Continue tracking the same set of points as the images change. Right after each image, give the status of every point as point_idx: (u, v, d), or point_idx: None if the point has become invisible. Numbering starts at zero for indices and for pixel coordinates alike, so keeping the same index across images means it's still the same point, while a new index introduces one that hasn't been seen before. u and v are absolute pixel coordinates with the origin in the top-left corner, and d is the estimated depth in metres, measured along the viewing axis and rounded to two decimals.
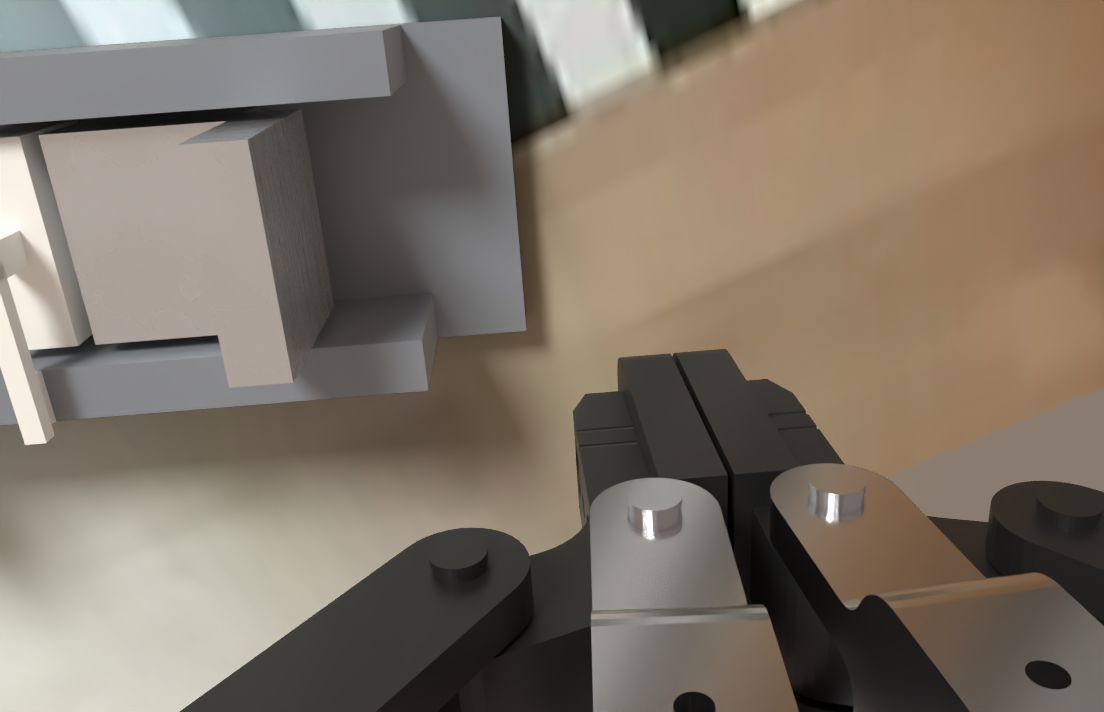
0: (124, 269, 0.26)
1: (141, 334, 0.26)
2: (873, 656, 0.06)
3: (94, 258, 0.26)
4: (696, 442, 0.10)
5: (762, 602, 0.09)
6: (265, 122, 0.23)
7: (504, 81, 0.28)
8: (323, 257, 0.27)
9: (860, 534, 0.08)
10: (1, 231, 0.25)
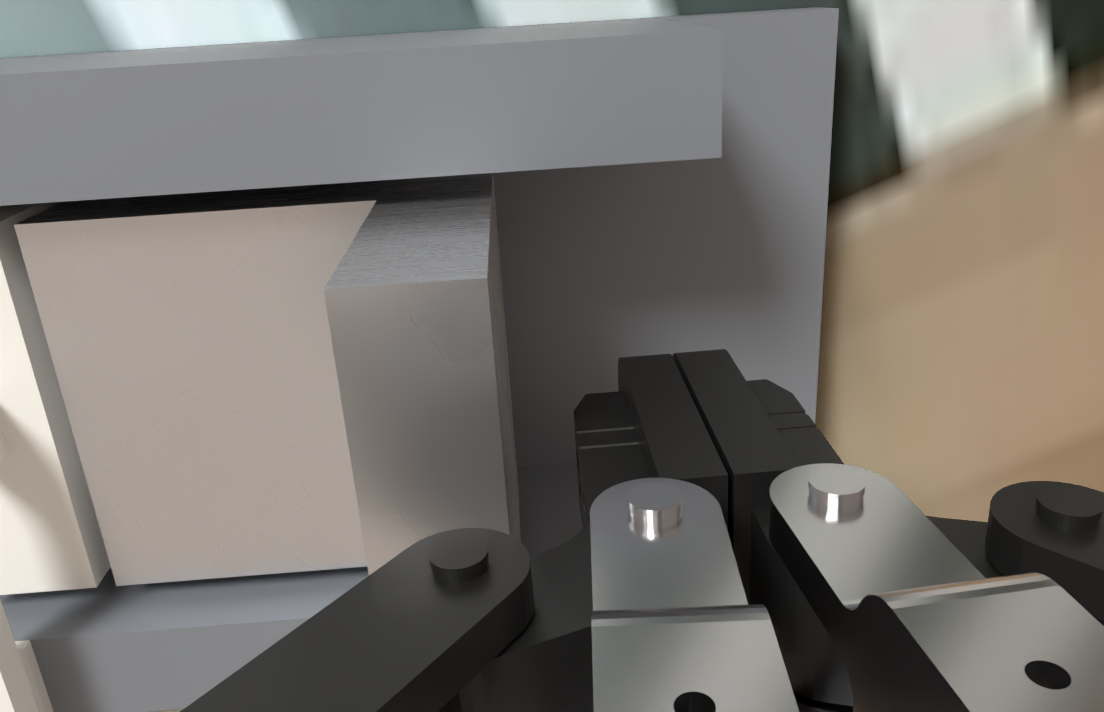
0: (171, 462, 0.14)
1: (198, 569, 0.15)
2: (873, 656, 0.06)
3: (117, 444, 0.14)
4: (696, 442, 0.10)
5: (761, 602, 0.09)
6: (464, 210, 0.12)
7: (829, 118, 0.16)
8: (512, 422, 0.16)
9: (859, 534, 0.08)
10: None
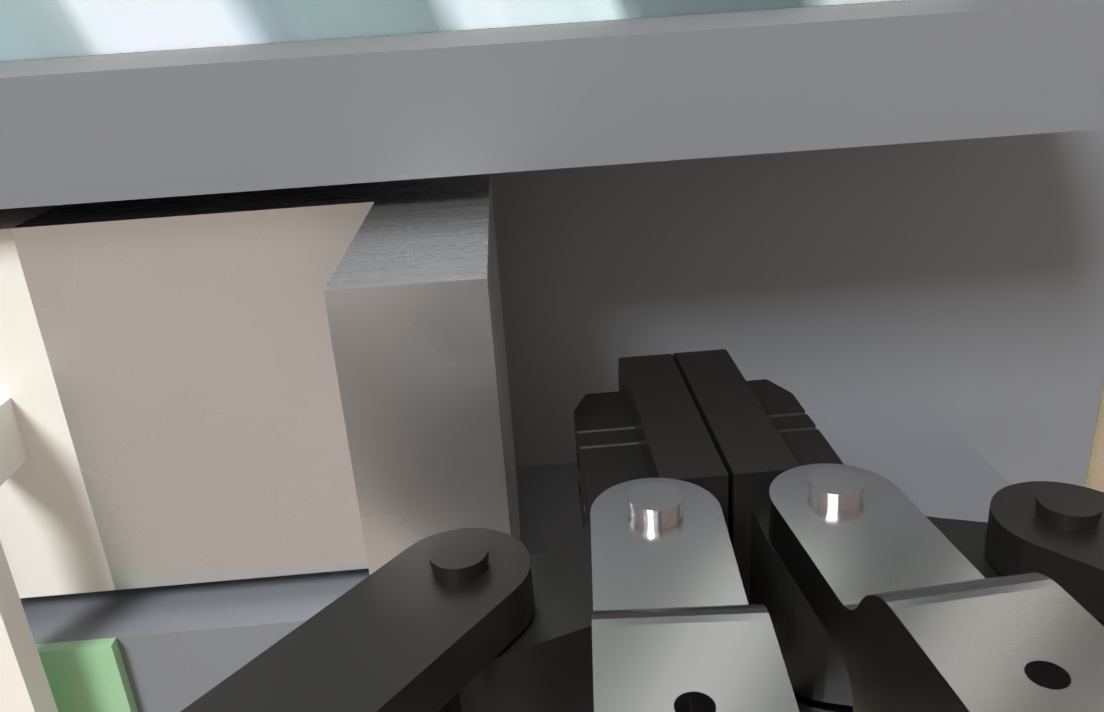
0: (171, 465, 0.14)
1: (198, 572, 0.15)
2: (873, 654, 0.06)
3: (115, 447, 0.14)
4: (697, 442, 0.10)
5: (761, 602, 0.09)
6: (462, 211, 0.12)
7: None
8: (511, 423, 0.16)
9: (859, 534, 0.08)
10: None
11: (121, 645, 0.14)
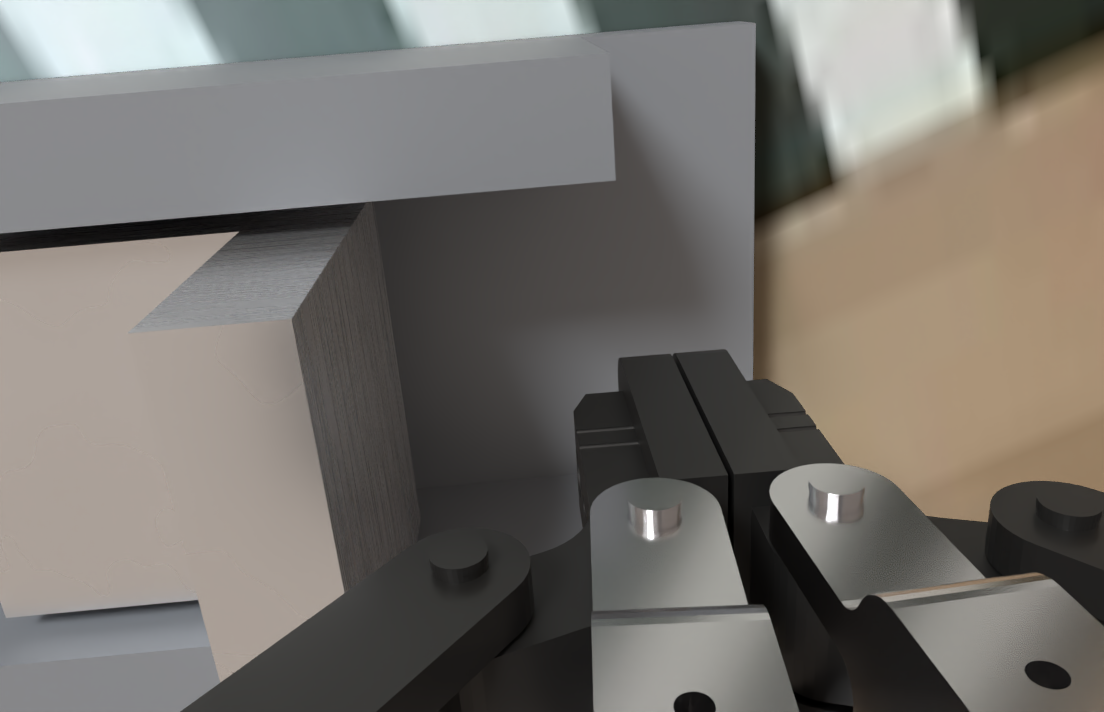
0: (52, 494, 0.14)
1: (87, 599, 0.15)
2: (873, 656, 0.06)
3: None
4: (697, 442, 0.10)
5: (761, 602, 0.09)
6: (316, 241, 0.12)
7: (752, 132, 0.16)
8: (406, 446, 0.16)
9: (859, 534, 0.08)
10: None
11: None
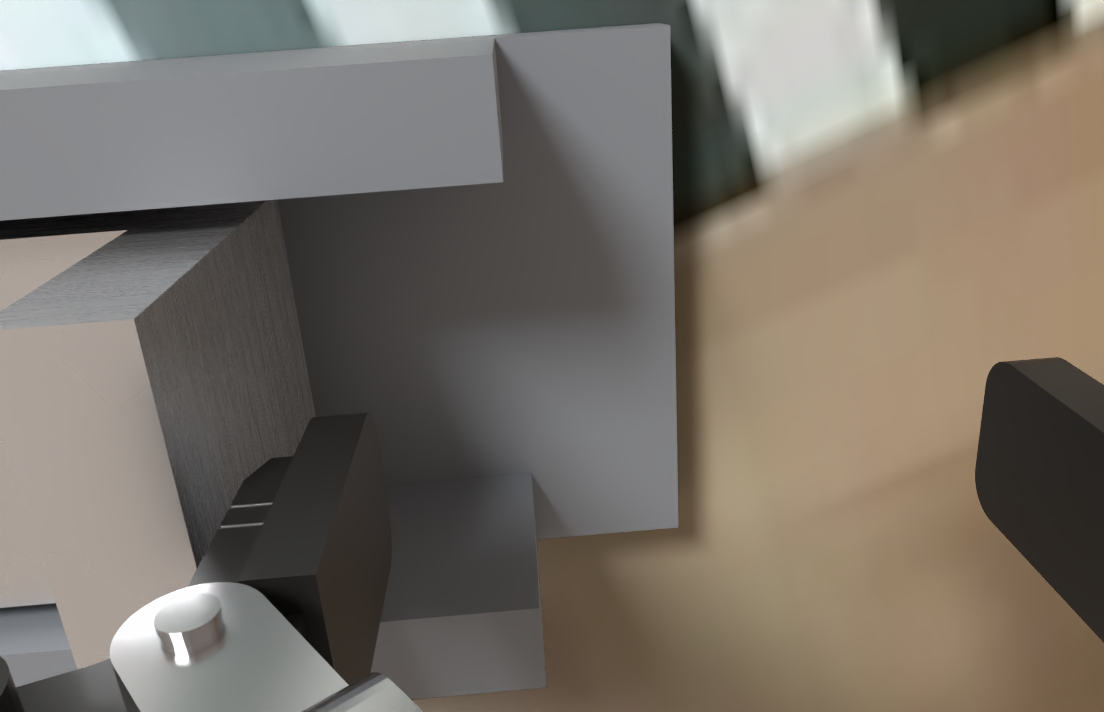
0: None
1: None
2: None
3: None
4: (313, 529, 0.09)
5: None
6: (197, 241, 0.12)
7: (669, 135, 0.16)
8: None
9: None
10: None
11: None
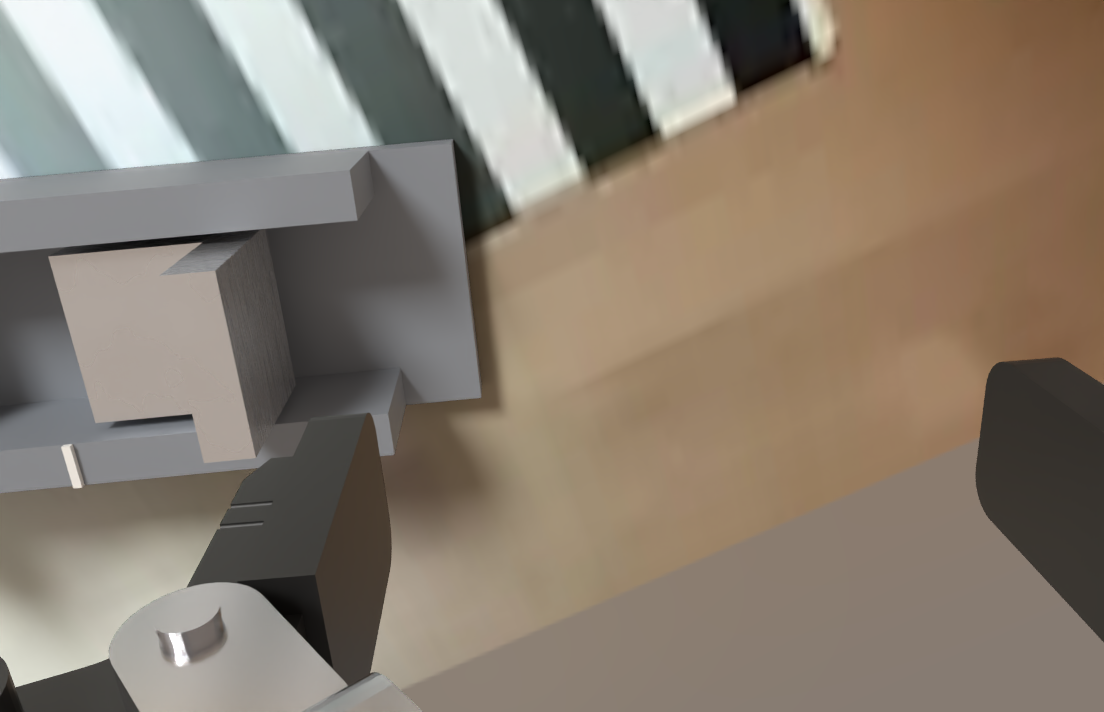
0: (119, 361, 0.31)
1: (133, 414, 0.32)
2: None
3: (94, 353, 0.31)
4: (312, 529, 0.09)
5: None
6: (232, 246, 0.29)
7: (456, 194, 0.33)
8: (285, 345, 0.33)
9: None
10: None
11: None
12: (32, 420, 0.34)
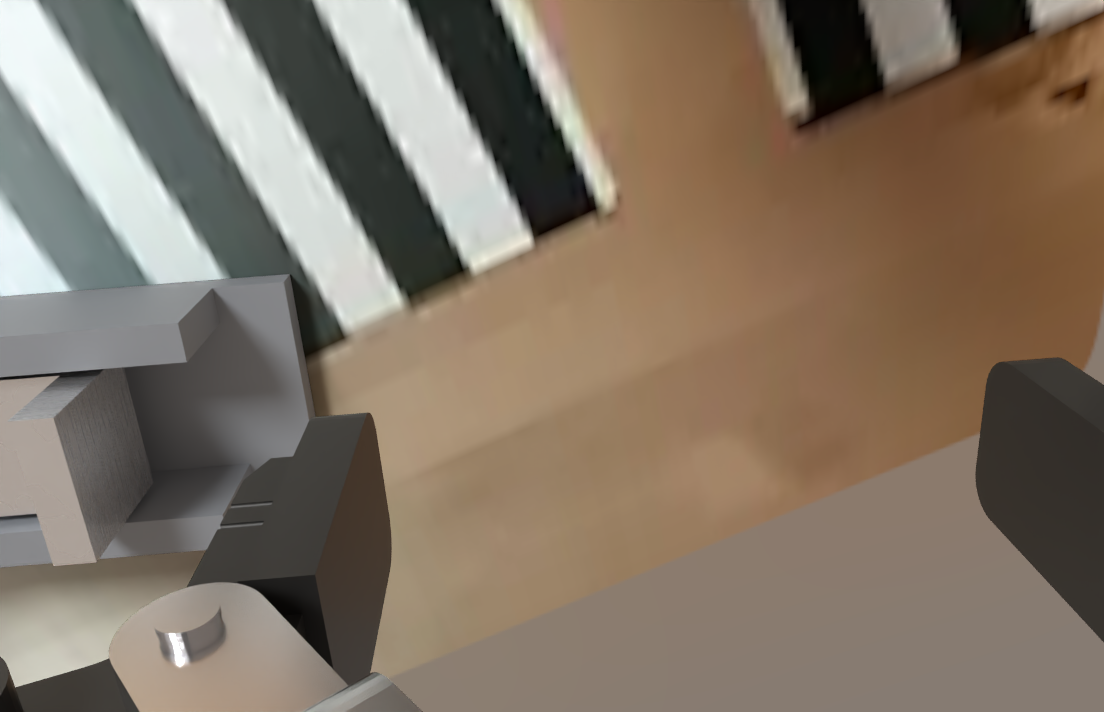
0: None
1: (8, 511, 0.38)
2: None
3: None
4: (312, 530, 0.09)
5: None
6: (81, 383, 0.35)
7: (290, 323, 0.39)
8: (141, 452, 0.39)
9: None
10: None
11: None
12: None
